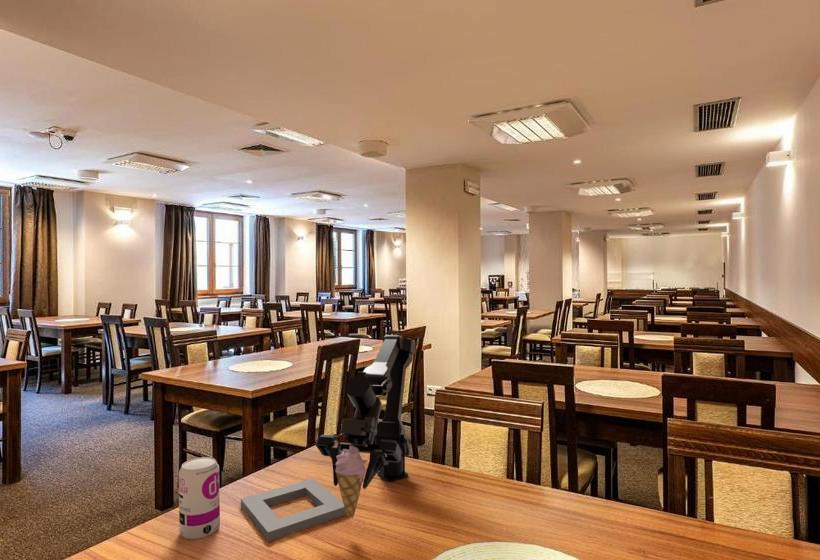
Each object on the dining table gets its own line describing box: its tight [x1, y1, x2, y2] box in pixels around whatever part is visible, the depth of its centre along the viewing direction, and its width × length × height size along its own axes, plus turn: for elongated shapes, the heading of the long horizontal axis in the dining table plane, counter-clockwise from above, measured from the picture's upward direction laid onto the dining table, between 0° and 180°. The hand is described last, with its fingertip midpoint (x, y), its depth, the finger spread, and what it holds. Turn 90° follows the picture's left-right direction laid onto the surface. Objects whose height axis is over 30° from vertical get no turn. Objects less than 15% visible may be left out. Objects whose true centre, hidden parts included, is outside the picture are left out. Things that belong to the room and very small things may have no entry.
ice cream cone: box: [335, 445, 369, 519], centre depth 104 cm, size 7×6×15 cm
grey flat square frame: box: [240, 478, 347, 542], centre depth 115 cm, size 19×19×2 cm
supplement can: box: [178, 456, 221, 540], centre depth 106 cm, size 8×8×15 cm
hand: (349, 486), depth 102 cm, fingers closed on ice cream cone, 6 cm apart
